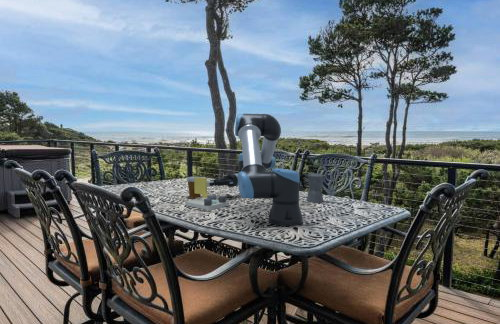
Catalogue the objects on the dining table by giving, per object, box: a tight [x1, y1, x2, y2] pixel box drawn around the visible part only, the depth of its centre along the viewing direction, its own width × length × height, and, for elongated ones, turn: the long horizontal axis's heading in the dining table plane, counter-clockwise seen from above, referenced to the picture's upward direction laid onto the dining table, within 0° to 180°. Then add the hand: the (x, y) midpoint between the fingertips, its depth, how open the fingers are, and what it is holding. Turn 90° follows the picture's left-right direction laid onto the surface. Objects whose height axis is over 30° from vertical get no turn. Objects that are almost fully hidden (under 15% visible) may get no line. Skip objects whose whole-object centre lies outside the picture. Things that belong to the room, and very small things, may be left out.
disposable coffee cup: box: [186, 176, 203, 199], centre depth 214 cm, size 10×10×12 cm
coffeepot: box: [299, 169, 328, 204], centre depth 203 cm, size 15×9×18 cm, turn 79°
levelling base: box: [184, 195, 230, 211], centre depth 191 cm, size 18×15×5 cm
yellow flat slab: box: [193, 176, 218, 200], centre depth 194 cm, size 14×5×12 cm, turn 56°
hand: (204, 184), depth 195 cm, fingers closed
